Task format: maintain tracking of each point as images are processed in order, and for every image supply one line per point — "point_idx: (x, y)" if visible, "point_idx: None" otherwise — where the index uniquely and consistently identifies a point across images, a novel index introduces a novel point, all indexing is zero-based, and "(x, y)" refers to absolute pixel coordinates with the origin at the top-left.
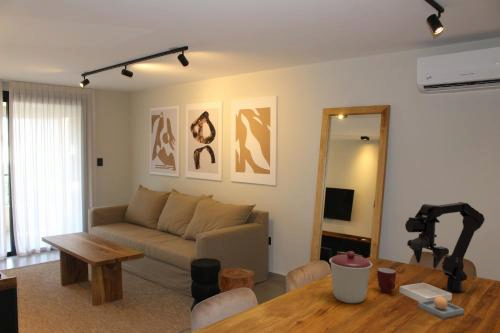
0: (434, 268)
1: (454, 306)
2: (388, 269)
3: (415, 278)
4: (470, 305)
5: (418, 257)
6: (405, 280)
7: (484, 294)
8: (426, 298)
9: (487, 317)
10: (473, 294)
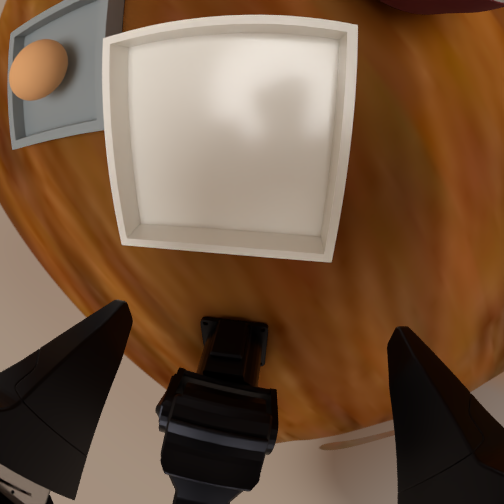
0: (120, 302)
1: (35, 134)
2: (502, 4)
3: (424, 324)
4: (86, 250)
5: (413, 395)
6: (447, 263)
7: None
8: (107, 37)
9: (14, 206)
10: (181, 355)
